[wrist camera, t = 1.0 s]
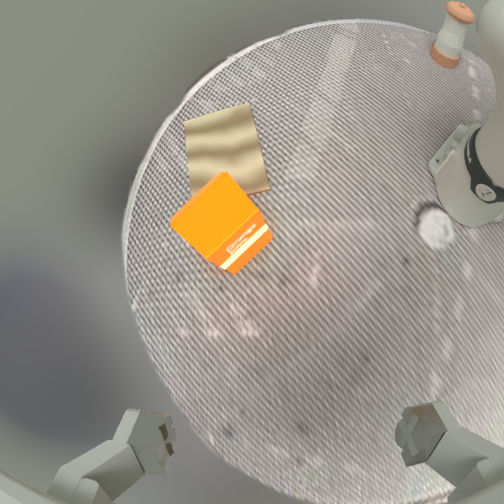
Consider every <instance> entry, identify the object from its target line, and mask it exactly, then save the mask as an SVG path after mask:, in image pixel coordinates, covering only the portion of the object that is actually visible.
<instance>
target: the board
mask: <svg viewBox="0 0 504 504" xmlns="http://www.w3.org/2000/svg"><path fill="white" fill-rule="evenodd" d="M184 127H185V138H186V148H187V158H188V168H189V177H190V186H191V195H192V197H193V196H194V195H195V194H197V193H198V192H199V191H200V190H201V189H202V188H203V187H204V186H205V185H206V184H207V183H208V182H209V181H210V180H212V179H213V178H214V177H215V176H216V175H217V174H218V173H219V172H228V173H229V175H230V176H231V177H232V178H233V179H234V181H235V182H236V183H237V184H238V186H239V187H240V188H241V189H242V190H243V192H244V193H245V194H246V195H247V196H249V195H253V194H257V193H261V192H266V191H270V186H269V182H268V177H267V173H266V169H265V165H264V160H263V156H262V152H261V148H260V143H259V139H258V135H257V131H256V127H255V123H254V119H253V115H252V111H251V107H250V103H246V104H242V105H238V106H235V107H231V108H227V109H224V110H220V111H217V112H213V113H210V114H207V115H203V116H200V117H197V118H194V119H191V120H188V121H185V122H184Z"/></svg>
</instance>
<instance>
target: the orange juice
mask: <svg viewBox="0 0 504 504" xmlns="http://www.w3.org/2000/svg"><path fill="white" fill-rule="evenodd" d="M170 226H171V227H172V228H173V229H174V230H175V231H176V232H178V233H179V234H180V235H181V236H182V237H183V238H184V239H185V240H186V241H187V242H189V243H190V244H191V245H192V246H193V247H194V248H195V249H196V250H197V251H199V252H200V253H201V254H202V255H203V256H204V257H205V258H206V259H207V260H209V261H211V262H212V263H214V264H216V265H218V266H220V267H221V268H223V269H226V270H228V271H230V272H232V273H233V274H236V273H237V272H238V271H239V270H240V269H241V268H242V267H243V266H244V265H245V264H246V263H247V262H248V261H249V260H250V259H251V258H253V257H254V256H255V255H256V254H257V253H258V252H259V251H260V250H261V249H262V248H263V247H264V246H265V245H266V244H267V243H268V242H269V241H270V240H272V239H273V237H272V235H271V233H270V231H269V229H268V227H267V224H266V223H265V221H264V219H263V217H262V215H261V213H260V211H259V210H258V209H257V208H256V206H255V205H254V204H253V203H252V201H251V200H250V199H249V198H248V197H247V195H246V194H245V193H244V192H243V190H242V189H241V188H240V187H239V186H238V184H237V183H236V182H235V181H234V179H233V178H232V177H231V176H230V175H229V173H228V172H219V173H218V174H217V175H216V176H215V177H214V178H213V179H212V180H210V181H209V182H208V183H207V184H206V185H205V186H204V187H203V188H202V189H201V190H200V191H199V192H198V193H197V194H195V195H194V196H193V197H192V198H191V199H190V200H189V201H188V202H187V203H186V204H185V205H184V206H183V207H182V208H181V209H180V210H179V211H178V212H177V213H176V214H175V215H174V216H173V217H172V218H171V223H170Z"/></svg>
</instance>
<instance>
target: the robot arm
mask: <svg viewBox="0 0 504 504" xmlns="http://www.w3.org/2000/svg"><path fill="white" fill-rule="evenodd" d="M476 36H477V41H478V45H479V48H480V50H481V53H482V55H483V57H484V58H485V60H486V62H487V64H488V65H489V67H490V70H491V72H492V75H493V78H494V81H495V86H496V102H495V106H494V108H493V110H492V112H491V114H490V116H489V117H488V119H487V121H486V122H485V123H484V125H483V126H482V125H480V124H476V123H473V124H472V125H471V126H470V127H469V126H466V125H462V124H460V125H458V126H457V127H456V129H455V130H454V131H453V132H452V134H451V135H450V136H449V137H448V139H447V140H446V141H445V142H444V144H443V145H442V146H441V147H440V148H439V150H438V151H437V152H436V153H435V154H434V156H433V157H432V158H431V159H430V160H429V162H428V168H429V170H430V172H431V174H432V176H433V177H434V180H435V185H436V190H437V194H438V197H439V199H440V202H441V204H442V205H443V207H444V209H445V210H446V211H447V213H448V214H449V215H450V216H451V217H452V218H453V219H454V220H456V221H457V222H459V223H460V224H462V225H464V226H467V227H473V228H476V227H481V226H483V225H485V224H487V223H489V222H495V223H497V222H500V221H501V220H502V219H503V217H504V0H489V1H487V2H486V3H485V4H484V5H483V6H482V8H481V9H480V11H479V14H478V17H477V21H476ZM436 161H438V163H437V162H436ZM402 417H403V419H402V420H400V421H399V422H398V424H397V426H396V429H395V438H396V442H397V445H398V446H400V447H401V448H403V451H402V453H401V455H402V457H403V460H404V462H405V465H406V467H408V466H412V465H416V464H420V463H424V462H426V464H427V465H428V466H430V467H431V468H432V469H433V470H435V471H436V472H437V473H438V474H440V475H441V476H442V477H443V478H445V479H446V480H447V481H449V482H450V483H451V484H452V485H454V486H455V487H456V488H455V489H454V490H453V491H452V492H451V493H450V494H449V496H448V498H447V499H448V502H449V504H504V448H502V447H500V446H498V445H496V444H494V443H492V442H490V441H488V440H486V439H484V438H482V437H480V436H478V435H477V434H475V433H473V432H471V431H469V430H467V429H465V428H463V427H460V428H459V426H458V425H457V423H456V421H455V420H454V418H453V417H452V415H451V413H450V412H449V410H448V409H447V407H446V405H445V404H444V402H443V401H441V400H438V401H434V402H430V403H425V404H420V405H416V406H411V407H406V408H405V409H404V410H403V413H402ZM171 425H172V418H171V416H170V415H166V414H159V413H154V412H148V411H143V410H137V409H131V408H129V409H128V410H126V412H125V414H124V416H123V418H122V420H121V422H120V424H119V427H118V429H117V431H116V433H115V435H114V438H113V439H112V440H107V441H106V442H104V443H102V444H100V445H99V446H97V447H95V448H94V449H92V450H90V451H89V452H87V453H85V454H84V455H82V456H80V457H78V458H76V459H74V460H73V461H71V462H69V463H67V464H65V465H64V466H62V467H60V469H59V471H58V473H57V475H56V477H55V479H54V481H53V482H52V484H51V486H50V488H49V490H48V492H47V493H45V492H43V491H41V490H39V489H37V488H35V487H33V486H31V485H29V484H27V483H25V482H23V481H22V480H20V479H18V478H16V477H14V476H12V475H11V474H9V473H8V472H6V471H4V470H3V469H1V468H0V504H114V503H113V501H114V500H115V499H116V498H118V497H119V496H120V495H121V494H122V493H124V492H125V491H126V490H127V489H128V488H130V487H131V486H132V485H133V484H134V483H136V482H137V481H138V480H139V479H140V478H141V477H142V476H143V475H144V473H147V474H152V475H159V476H165V477H168V474H169V471H170V467H171V463H172V462H171V459H170V456H171V455H172V454H174V451H175V447H176V433H175V430H174V428H172V427H171Z"/></svg>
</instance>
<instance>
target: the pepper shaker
mask: <svg viewBox="0 0 504 504" xmlns="http://www.w3.org/2000/svg"><path fill="white" fill-rule="evenodd" d="M446 11H447V16H446V19H445V22H444V25H443V26H442V28H441V30H440V32H439V33H438V36H437V39H436V41H435V42H434V44H433V47H432V50H431V56H432V58H433V59H434V60H435V61H436V62H437V63H438V64H440V65H441V66H444V67H446V68H454V67H455V66H456V64H457V62H458V60H459V58H460V52H461V50H462V47H463V43H464V38H465V34H466V31H467V28H468V25H469V24H471V23H473V22H474V19H475V18H474V15H473V12H472V11H471V10H470V9H469V8H468V7H466V6H465V4H463V3H459V2H456V1H450V2H448V3H447V4H446Z"/></svg>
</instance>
